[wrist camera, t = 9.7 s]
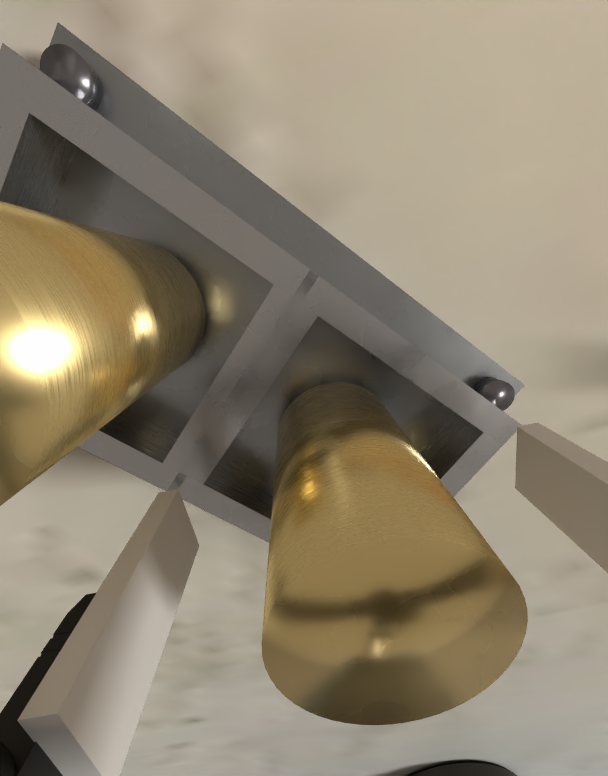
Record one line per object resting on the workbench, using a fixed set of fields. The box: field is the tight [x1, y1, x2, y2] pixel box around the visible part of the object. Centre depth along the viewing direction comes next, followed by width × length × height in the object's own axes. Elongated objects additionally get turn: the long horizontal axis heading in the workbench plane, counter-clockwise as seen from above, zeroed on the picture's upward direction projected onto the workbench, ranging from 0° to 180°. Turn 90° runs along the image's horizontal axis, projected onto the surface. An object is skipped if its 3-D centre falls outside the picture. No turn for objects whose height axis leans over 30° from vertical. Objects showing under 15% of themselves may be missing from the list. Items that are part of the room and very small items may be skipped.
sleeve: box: [262, 382, 528, 725], centre depth 12 cm, size 6×6×10 cm
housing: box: [0, 23, 524, 542], centre depth 12 cm, size 15×24×12 cm, turn 56°
